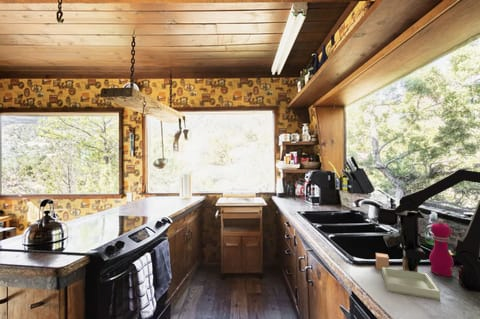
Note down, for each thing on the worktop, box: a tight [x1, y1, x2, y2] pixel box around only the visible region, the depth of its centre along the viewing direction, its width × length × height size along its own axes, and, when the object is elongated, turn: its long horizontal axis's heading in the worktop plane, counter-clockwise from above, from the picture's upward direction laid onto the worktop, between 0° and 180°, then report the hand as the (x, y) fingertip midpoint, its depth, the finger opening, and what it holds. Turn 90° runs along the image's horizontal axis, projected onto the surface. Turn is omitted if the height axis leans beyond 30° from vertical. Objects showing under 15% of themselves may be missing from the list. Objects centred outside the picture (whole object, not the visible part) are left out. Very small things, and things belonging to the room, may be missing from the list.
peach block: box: [375, 252, 390, 271], centre depth 98 cm, size 4×4×5 cm
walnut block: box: [401, 256, 419, 272], centre depth 94 cm, size 4×4×5 cm
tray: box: [381, 267, 441, 301], centre depth 84 cm, size 14×14×3 cm
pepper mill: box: [428, 218, 455, 277], centre depth 95 cm, size 7×7×20 cm
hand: (409, 270), depth 94 cm, fingers closed on walnut block, 4 cm apart
